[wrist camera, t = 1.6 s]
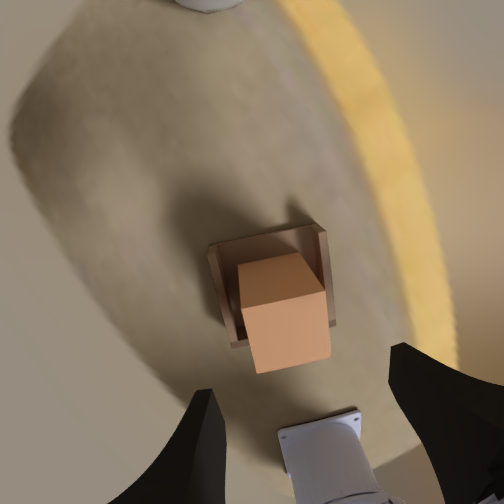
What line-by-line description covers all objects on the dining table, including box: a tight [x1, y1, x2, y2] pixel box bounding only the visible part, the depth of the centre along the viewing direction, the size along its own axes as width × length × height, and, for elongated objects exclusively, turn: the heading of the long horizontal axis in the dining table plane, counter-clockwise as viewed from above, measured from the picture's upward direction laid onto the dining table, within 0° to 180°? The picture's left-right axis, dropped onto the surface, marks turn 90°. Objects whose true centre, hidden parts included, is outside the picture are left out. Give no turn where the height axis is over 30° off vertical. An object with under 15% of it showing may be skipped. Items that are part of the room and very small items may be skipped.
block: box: [238, 252, 331, 374], centre depth 18 cm, size 4×4×6 cm
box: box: [207, 223, 336, 348], centre depth 20 cm, size 6×7×2 cm
